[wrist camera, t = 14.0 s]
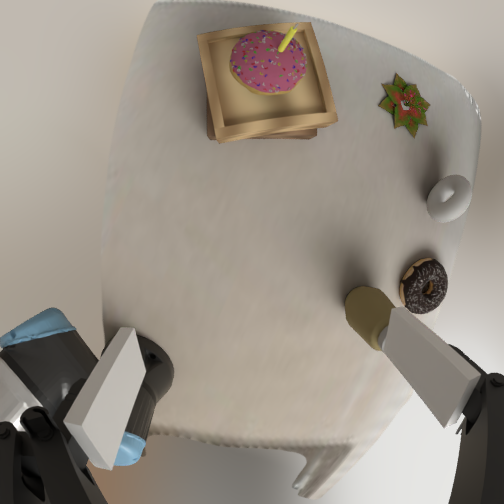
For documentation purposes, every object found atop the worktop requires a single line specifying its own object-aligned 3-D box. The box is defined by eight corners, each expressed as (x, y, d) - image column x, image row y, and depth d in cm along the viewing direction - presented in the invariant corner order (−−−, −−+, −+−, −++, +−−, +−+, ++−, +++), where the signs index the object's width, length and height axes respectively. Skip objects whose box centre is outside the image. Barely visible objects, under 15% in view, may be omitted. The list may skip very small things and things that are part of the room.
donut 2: (439, 169, 42) (474, 171, 32) (448, 182, 42) (483, 186, 33) (414, 209, 44) (448, 218, 34) (424, 221, 44) (458, 232, 35)
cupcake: (276, 39, 28) (292, -12, 16) (311, 88, 30) (344, 52, 19) (218, 64, 29) (209, 17, 17) (252, 116, 31) (259, 86, 19)
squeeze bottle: (373, 318, 49) (420, 374, 32) (335, 321, 48) (374, 384, 31) (381, 279, 47) (439, 326, 29) (342, 279, 46) (391, 332, 29)
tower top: (219, 143, 35) (216, 138, 31) (201, 50, 31) (196, 35, 27) (326, 127, 35) (338, 120, 30) (303, 37, 31) (310, 22, 26)
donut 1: (421, 245, 46) (433, 251, 42) (448, 278, 48) (459, 284, 44) (387, 291, 48) (397, 300, 44) (417, 319, 50) (427, 327, 46)
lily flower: (391, 63, 37) (403, 56, 32) (436, 105, 39) (450, 101, 34) (365, 107, 39) (377, 101, 35) (414, 150, 41) (429, 149, 37)
